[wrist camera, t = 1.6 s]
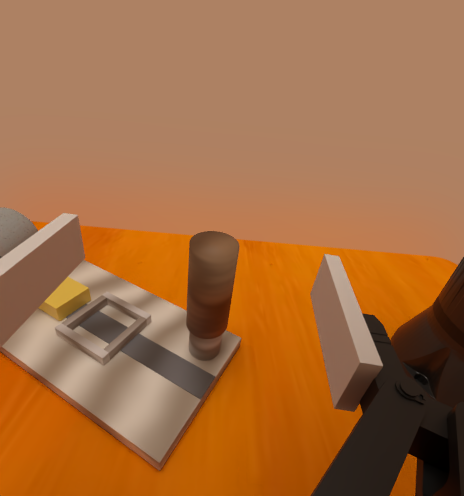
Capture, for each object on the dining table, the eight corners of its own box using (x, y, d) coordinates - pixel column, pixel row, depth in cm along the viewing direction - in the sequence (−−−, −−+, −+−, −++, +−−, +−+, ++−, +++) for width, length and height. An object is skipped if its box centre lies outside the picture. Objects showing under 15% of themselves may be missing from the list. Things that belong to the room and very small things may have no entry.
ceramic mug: (-46, 278, 40) (-69, 229, 36) (-2, 246, 47) (-17, 202, 43) (31, 289, 40) (17, 242, 36) (64, 256, 47) (55, 213, 43)
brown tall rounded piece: (230, 342, 34) (247, 241, 27) (210, 370, 31) (224, 264, 23) (198, 326, 36) (206, 226, 28) (177, 351, 32) (179, 246, 25)
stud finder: (91, 299, 37) (88, 287, 36) (59, 321, 34) (55, 307, 33) (49, 276, 40) (46, 264, 39) (16, 294, 37) (11, 281, 36)
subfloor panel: (239, 346, 36) (242, 331, 34) (159, 470, 24) (159, 456, 23) (79, 265, 45) (76, 250, 44) (-33, 326, 34) (-42, 310, 32)
